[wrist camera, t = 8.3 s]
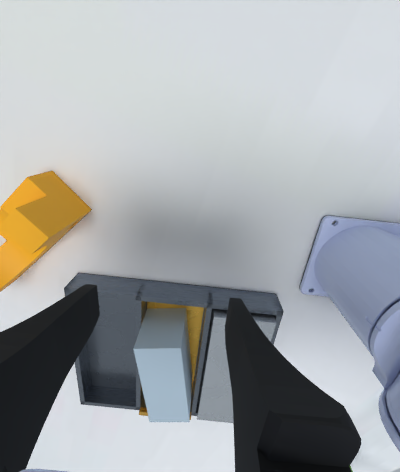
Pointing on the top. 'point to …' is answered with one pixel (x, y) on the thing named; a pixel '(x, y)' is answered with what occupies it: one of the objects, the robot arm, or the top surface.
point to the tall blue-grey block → (165, 364)
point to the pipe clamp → (35, 222)
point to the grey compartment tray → (200, 339)
